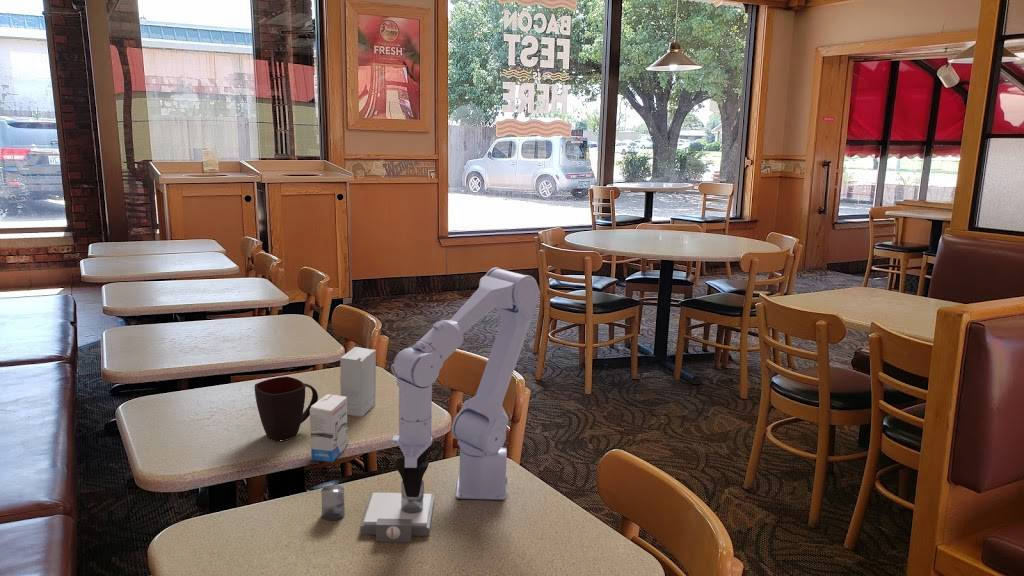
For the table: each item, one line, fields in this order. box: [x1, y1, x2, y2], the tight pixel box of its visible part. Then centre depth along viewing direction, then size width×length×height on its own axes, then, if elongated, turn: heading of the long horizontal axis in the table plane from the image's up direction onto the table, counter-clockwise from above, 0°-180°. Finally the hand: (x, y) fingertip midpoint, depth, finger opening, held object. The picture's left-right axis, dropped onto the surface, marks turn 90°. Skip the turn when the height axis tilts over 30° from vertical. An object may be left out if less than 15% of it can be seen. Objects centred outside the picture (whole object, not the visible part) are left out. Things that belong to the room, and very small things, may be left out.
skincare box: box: [339, 346, 377, 418], centre depth 179 cm, size 8×6×15 cm
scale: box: [360, 491, 435, 543], centre depth 133 cm, size 12×13×3 cm
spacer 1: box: [320, 484, 346, 522], centre depth 134 cm, size 4×4×5 cm
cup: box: [253, 376, 319, 442], centre depth 165 cm, size 10×14×12 cm
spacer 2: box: [400, 479, 425, 513], centre depth 133 cm, size 4×4×5 cm
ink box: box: [309, 393, 349, 463], centre depth 157 cm, size 9×5×12 cm, turn 168°
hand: (415, 485), depth 133 cm, fingers open, 7 cm apart
